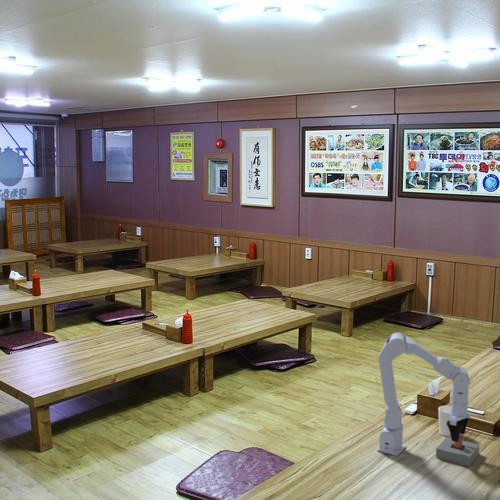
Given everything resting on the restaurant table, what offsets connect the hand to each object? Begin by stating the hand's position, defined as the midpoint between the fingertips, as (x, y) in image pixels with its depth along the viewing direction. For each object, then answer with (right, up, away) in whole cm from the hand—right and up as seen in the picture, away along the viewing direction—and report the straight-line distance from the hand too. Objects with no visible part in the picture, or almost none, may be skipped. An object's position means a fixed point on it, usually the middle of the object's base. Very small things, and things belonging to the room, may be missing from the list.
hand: (458, 437), depth 222 cm
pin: (0, -7, +1) cm, 7 cm away
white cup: (+3, -5, +20) cm, 21 cm away
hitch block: (0, -7, +1) cm, 7 cm away
